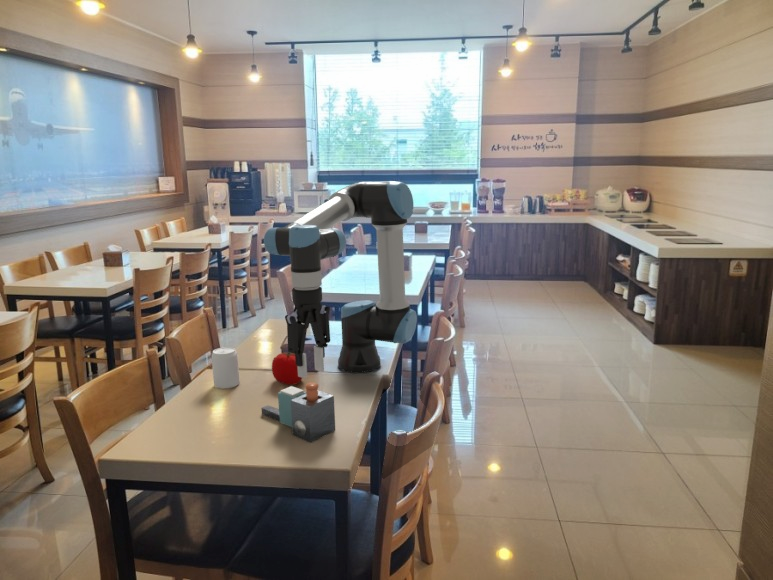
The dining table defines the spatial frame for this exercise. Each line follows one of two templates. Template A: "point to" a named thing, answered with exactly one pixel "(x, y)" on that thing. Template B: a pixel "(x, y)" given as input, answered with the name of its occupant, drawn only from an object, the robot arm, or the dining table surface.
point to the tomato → (285, 369)
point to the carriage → (287, 403)
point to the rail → (271, 412)
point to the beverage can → (225, 367)
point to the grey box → (313, 416)
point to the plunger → (312, 391)
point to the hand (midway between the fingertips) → (311, 373)
